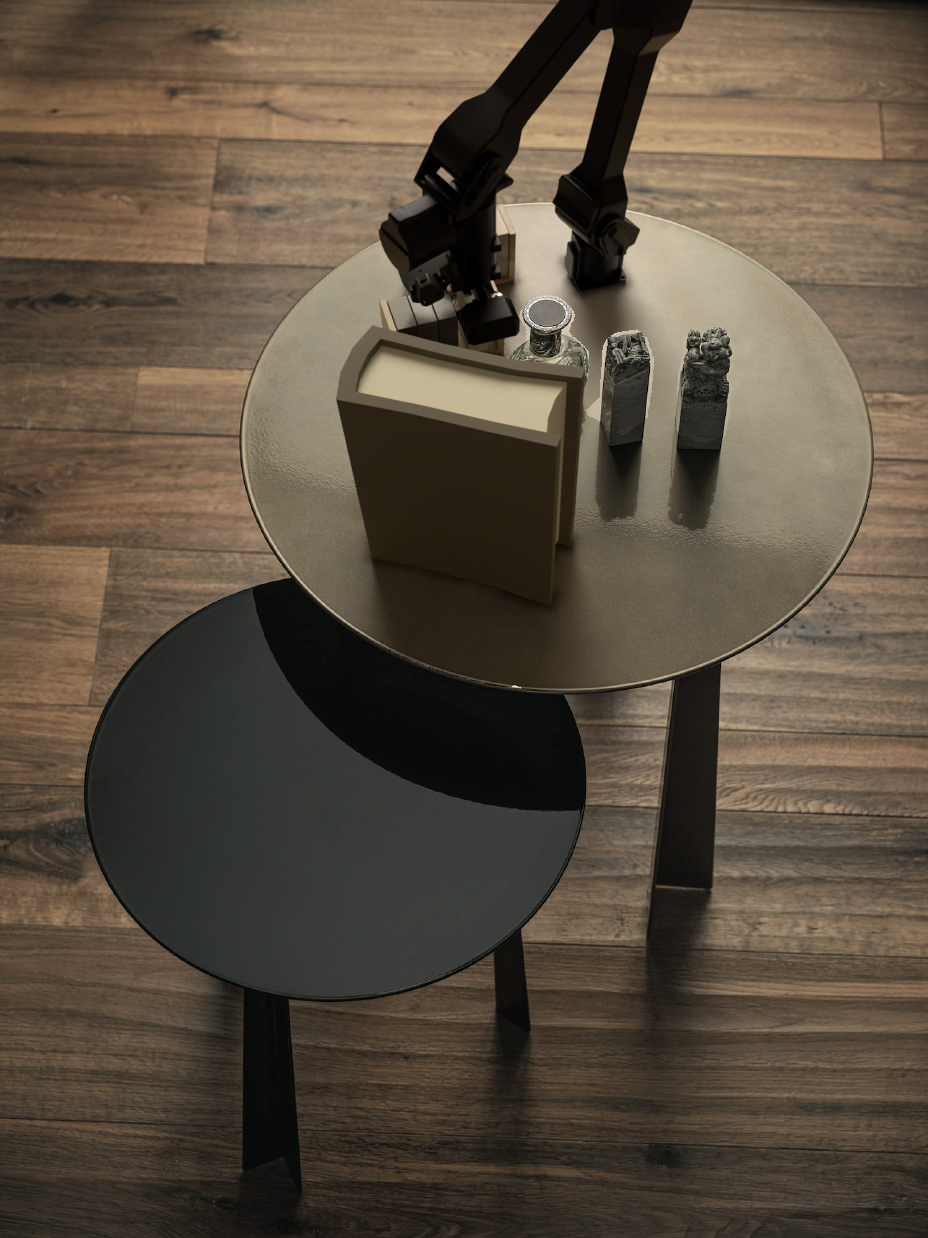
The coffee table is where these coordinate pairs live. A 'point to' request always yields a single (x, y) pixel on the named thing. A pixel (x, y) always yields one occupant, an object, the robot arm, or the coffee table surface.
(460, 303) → the cream book
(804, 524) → the coffee table surface
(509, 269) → the brown rack
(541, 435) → the book
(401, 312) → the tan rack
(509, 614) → the coffee table surface
